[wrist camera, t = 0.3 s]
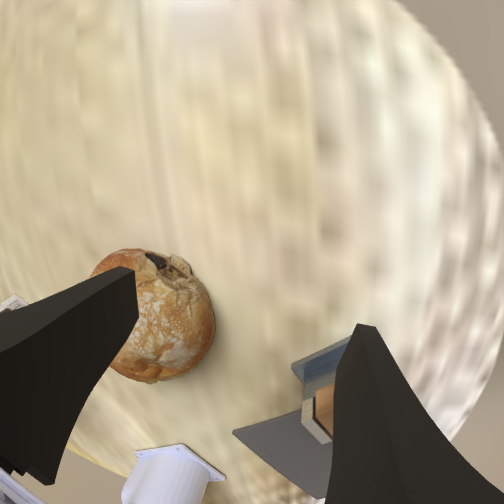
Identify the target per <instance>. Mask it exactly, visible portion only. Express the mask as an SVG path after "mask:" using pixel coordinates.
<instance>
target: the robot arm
mask: <svg viewBox="0 0 504 504" xmlns="http://www.w3.org/2000/svg"><path fill="white" fill-rule="evenodd" d="M138 319H139V309H138V300H137V290H136V279H135V270H133V269H129V268H126V267H122V266H118V267H115V268H112V269H110V270H107V271H105V272H103V273H101V274H98V275H96V276H94V277H92V278H90V279H87V280H85V281H83V282H81V283H79V284H77V285H74V286H72V287H70V288H68V289H66V290H64V291H61V292H59V293H56V294H54V295H52V296H49V297H47V298H45V299H42V300H40V301H38V302H35V303H32V304H30V305H27V306H24V307H21V308H18V309H15V310H12V311H9V312H5V313H1V314H0V504H47V503H46V502H44V501H43V500H42V499H40V498H39V497H37V496H36V495H35V494H33V493H32V492H31V491H29V490H28V489H27V488H25V487H24V486H23V485H21V484H20V483H19V482H18V481H16V480H15V479H14V478H13V477H11V476H10V475H11V473H12V472H13V470H15V471H16V472H17V473H18V474H20V475H21V476H23V475H24V474H25V472H28V473H29V474H30V475H31V476H33V477H34V478H35V479H37V480H38V481H39V482H41V483H42V484H44V485H52V484H54V483H55V479H56V475H57V471H58V468H59V464H60V461H61V458H62V455H63V452H64V449H65V447H66V444H67V441H68V439H69V436H70V434H71V432H72V429H73V427H74V425H75V423H76V420H77V418H78V416H79V414H80V412H81V410H82V408H83V406H84V404H85V402H86V400H87V398H88V396H89V395H90V393H91V391H92V390H93V388H94V387H95V385H96V384H97V382H98V381H99V379H100V378H101V377H102V375H103V374H104V372H105V371H106V369H107V368H108V367H109V365H110V364H111V362H112V361H113V360H114V358H115V357H116V355H117V354H118V353H119V351H120V350H121V348H122V347H123V346H124V344H125V343H126V341H127V340H128V338H129V336H130V334H131V332H132V331H133V329H134V327H135V325H136V323H137V321H138ZM134 455H135V456H136V457H138V460H137V462H136V464H135V466H134V468H133V469H132V471H131V473H130V475H129V477H128V479H127V481H126V483H125V485H124V487H123V489H122V493H121V498H122V503H123V504H201V502H202V499H203V496H204V493H205V490H206V487H207V484H208V482H214V481H223V480H225V478H226V477H225V476H224V475H222V474H221V473H220V472H218V471H217V470H216V469H214V468H213V467H212V466H210V465H209V464H208V463H206V462H205V461H204V460H202V459H201V458H200V457H199V456H197V455H196V454H195V453H194V452H192V451H191V450H190V449H189V448H187V447H186V446H185V445H183V444H178V445H173V446H167V447H161V448H155V449H148V450H141V451H135V452H134ZM325 504H504V493H503V492H501V491H500V490H499V489H498V488H496V487H495V486H493V485H492V484H491V483H489V481H487V480H486V479H485V478H484V477H483V476H482V475H481V474H480V473H479V472H478V471H477V470H476V469H474V468H473V467H472V466H471V465H470V464H469V463H468V462H467V461H466V460H465V459H464V457H463V456H462V455H461V454H460V453H459V452H458V451H457V450H456V449H455V447H454V446H453V445H452V444H451V443H450V442H449V441H448V439H447V438H446V437H445V436H444V434H443V433H442V432H441V431H440V429H439V428H438V427H437V425H436V424H435V423H434V421H433V420H432V419H431V417H430V416H429V415H428V413H427V412H426V410H425V409H424V407H423V406H422V404H421V403H420V401H419V400H418V398H417V397H416V395H415V394H414V392H413V391H412V389H411V387H410V386H409V384H408V382H407V381H406V379H405V377H404V376H403V374H402V372H401V371H400V369H399V367H398V365H397V364H396V362H395V360H394V358H393V357H392V355H391V353H390V351H389V349H388V348H387V346H386V344H385V342H384V341H383V339H382V337H381V335H380V334H379V332H378V330H377V329H376V327H374V326H369V325H363V324H358V323H357V325H356V327H355V329H354V332H353V334H352V336H351V338H350V340H349V342H348V345H347V347H346V349H345V351H344V353H343V355H342V357H341V359H340V361H339V363H338V365H337V368H336V377H335V385H334V394H333V454H332V466H331V473H330V478H329V484H328V490H327V495H326V499H325Z"/></svg>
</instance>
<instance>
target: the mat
mask: <svg viewBox="0 0 504 504" xmlns="http://www.w3.org/2000/svg"><path fill="white" fill-rule="evenodd" d="M301 418H302V409H300V410H298V411H295V412H292V413H289V414H286V415H283V416H280V417H277V418H274V419H271V420H268V421H265V422H261V423H258V424H255V425H251V426H248V427H244V428H241V429H237V430H233V432H232V434H233V435H234V436H236V437H237V438H238V439H239V440H240V441H241V442H242V443H244V444H245V445H246V446H247V447H248V448H249V449H251V450H252V451H253V452H254V453H255V454H257V455H258V456H259V457H260V458H261V459H263V460H264V461H265V462H266V463H268V464H269V465H270V466H271V467H273V468H274V469H275V470H277V471H278V472H279V473H280V474H282V475H283V476H284V477H286V478H287V479H288V480H290V481H291V482H293V483H294V484H295V485H297V486H298V487H299V488H301V489H302V490H304V491H305V492H306V493H308V494H309V495H311V496H312V497H314V498H315V499H322V498H326V495H327V490H328V484H329V478H330V473H331V466H332V454H333V441H331V442H328V443H325V444H321V443H320V442H319V441H318V440H317V439H316V438H315V437H314V436H313V435H312V434H311V433H310V432H309V431H308V430H307V428H306V427H305V426H304V425H303V424H302V423H301ZM332 437H333V436H332Z"/></svg>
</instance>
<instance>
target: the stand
mask: <svg viewBox="0 0 504 504" xmlns="http://www.w3.org/2000/svg"><path fill="white" fill-rule="evenodd" d="M351 336H352V335H351ZM351 336H349V337H347V338H345V339H343V340H341V341H339V342H337V343H335V344H333V345H331V346H329V347H327V348H325V349H323V350H321V351H319V352H316V353H314V354H312V355H310V356H308V357H306V358H303V359H301V360H299V361H297V362H294V363H292V367H291V369H292V370H293V371H294V373H295V374H296V375H297V376H298V378H299V379H300V380H301V381H302V382H303V401H302V418H301V423H302V424H303V425H304V426H305V427H306V428H307V430H308V431H309V432H310V433H311V434H312V435H313V436H314V437H315V438H316V439H317V440H318V441H319V442H320V443H321V444H325V443H328V442H331V441H333V437H332V435H331V433H330V432H329V431H328V430H327V429H326V428H325V427H324V426H323V425H322V424H321V422H320V421H319V420H318V419H317V418H316V390H319V389H321V388H323V387H326V386H328V385H331V384H333V383H335V377H336V368H337V365H338V363H339V361H340V359H341V357H342V355H343V353H344V351H345V349H346V347H347V345H348V342H349V340H350V338H351Z"/></svg>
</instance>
